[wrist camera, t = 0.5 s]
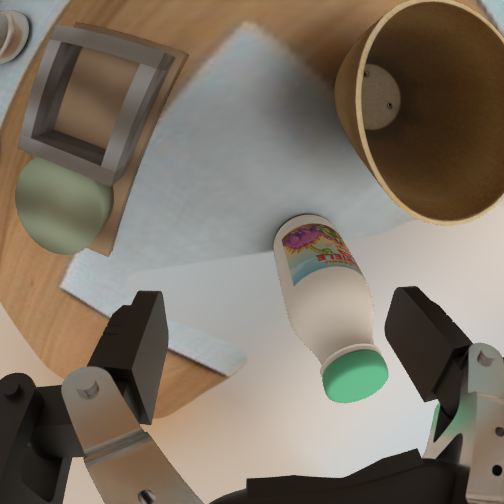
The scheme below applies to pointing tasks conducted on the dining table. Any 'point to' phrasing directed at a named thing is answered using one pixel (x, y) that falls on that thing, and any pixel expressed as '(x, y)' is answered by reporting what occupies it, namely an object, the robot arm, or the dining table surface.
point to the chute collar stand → (89, 133)
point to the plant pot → (428, 109)
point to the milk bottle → (329, 307)
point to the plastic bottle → (12, 34)
